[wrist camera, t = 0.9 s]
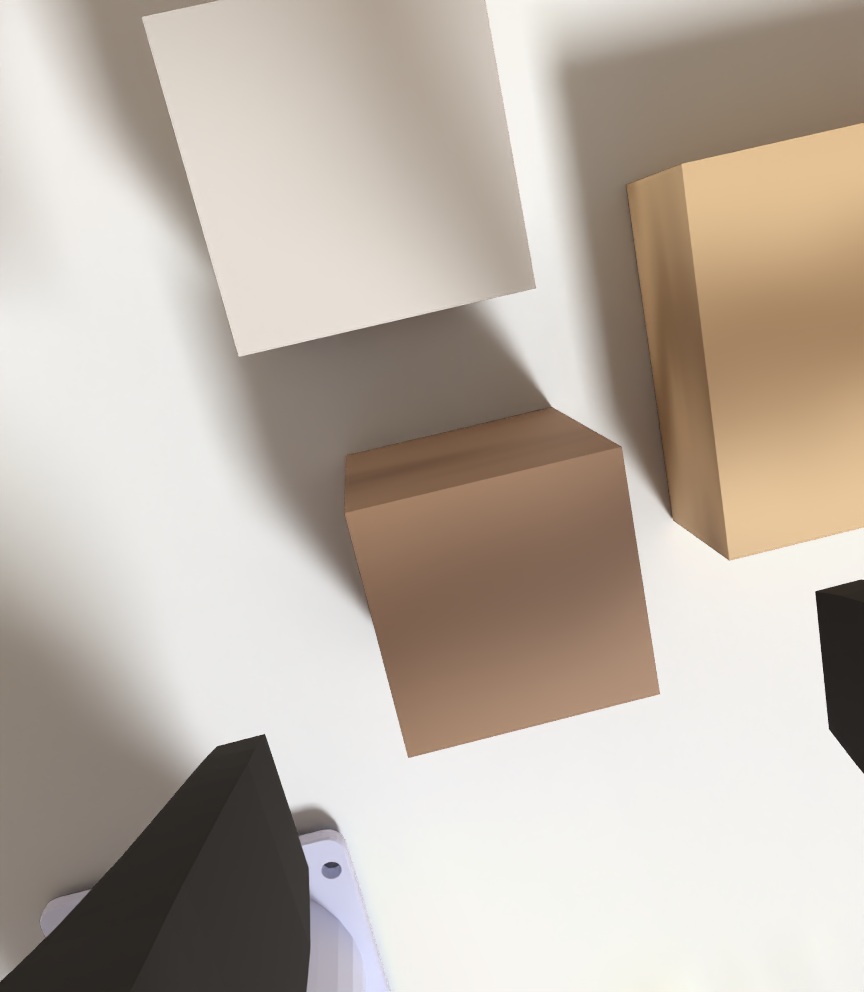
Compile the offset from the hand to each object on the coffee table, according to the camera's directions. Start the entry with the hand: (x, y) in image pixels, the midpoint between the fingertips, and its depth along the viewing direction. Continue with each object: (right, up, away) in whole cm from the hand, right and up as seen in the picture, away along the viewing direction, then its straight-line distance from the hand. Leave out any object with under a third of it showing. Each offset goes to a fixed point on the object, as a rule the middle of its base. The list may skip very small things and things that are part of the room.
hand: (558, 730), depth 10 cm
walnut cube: (-1, +2, +9) cm, 10 cm away
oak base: (+7, +7, +9) cm, 13 cm away
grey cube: (-3, +9, +7) cm, 12 cm away
